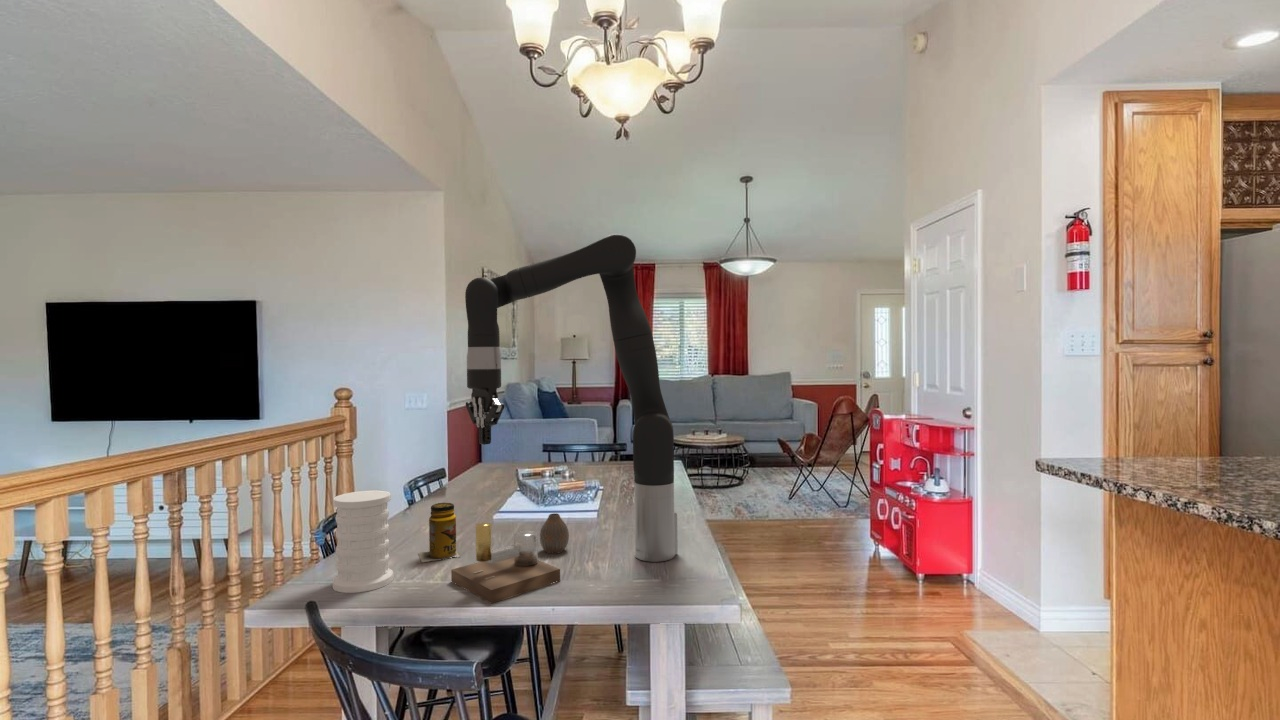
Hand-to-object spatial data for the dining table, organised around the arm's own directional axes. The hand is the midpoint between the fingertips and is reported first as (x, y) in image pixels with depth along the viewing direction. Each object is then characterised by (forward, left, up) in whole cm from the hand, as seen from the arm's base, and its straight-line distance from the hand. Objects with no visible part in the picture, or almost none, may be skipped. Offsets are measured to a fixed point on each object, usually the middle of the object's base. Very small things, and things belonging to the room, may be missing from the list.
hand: (484, 443), depth 137 cm
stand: (+3, +13, -27) cm, 30 cm away
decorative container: (+24, -8, -27) cm, 37 cm away
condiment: (+5, -13, -27) cm, 31 cm away
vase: (-16, +4, -27) cm, 32 cm away
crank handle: (+2, +13, -24) cm, 28 cm away
